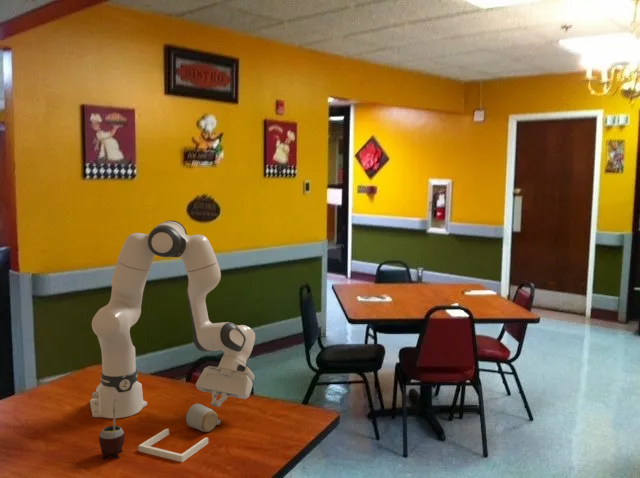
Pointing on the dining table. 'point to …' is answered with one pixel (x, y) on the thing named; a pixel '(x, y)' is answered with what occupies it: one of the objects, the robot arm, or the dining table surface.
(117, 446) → the mate gourd
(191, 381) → the dining table surface
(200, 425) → the ceramic mug
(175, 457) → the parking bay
